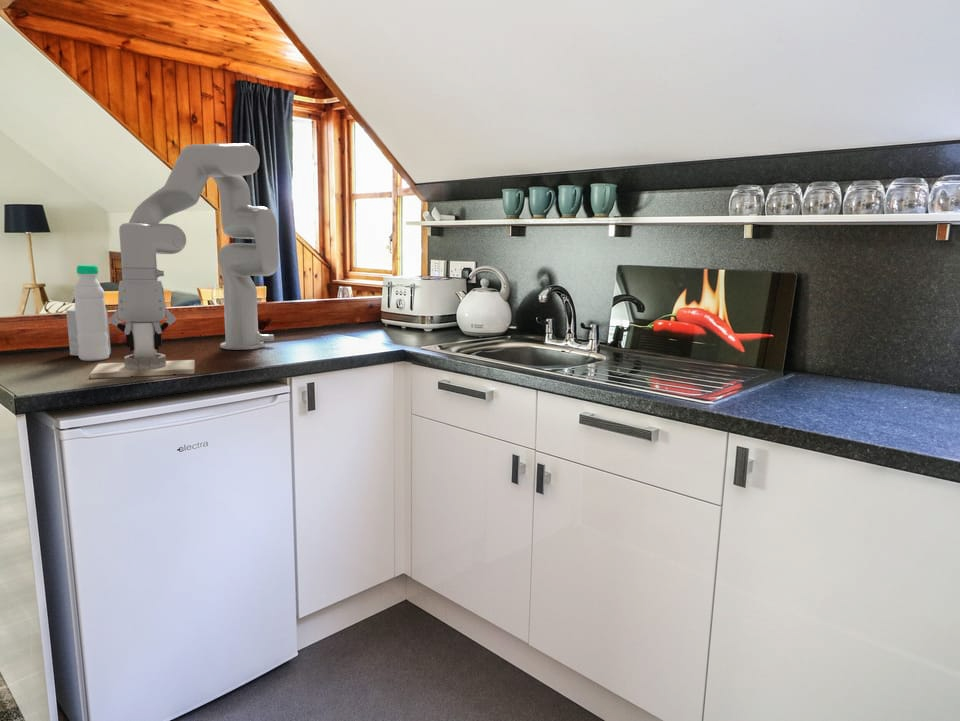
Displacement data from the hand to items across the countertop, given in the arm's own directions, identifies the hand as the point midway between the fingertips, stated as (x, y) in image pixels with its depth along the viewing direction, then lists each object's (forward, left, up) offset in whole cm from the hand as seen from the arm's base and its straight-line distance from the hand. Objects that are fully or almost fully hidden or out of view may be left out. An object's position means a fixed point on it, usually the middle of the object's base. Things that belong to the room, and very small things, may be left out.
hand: (144, 348), depth 158 cm
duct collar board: (0, 0, -5) cm, 5 cm away
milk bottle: (+14, -21, -6) cm, 26 cm away
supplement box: (+16, -29, -6) cm, 34 cm away
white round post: (0, 0, -3) cm, 3 cm away
